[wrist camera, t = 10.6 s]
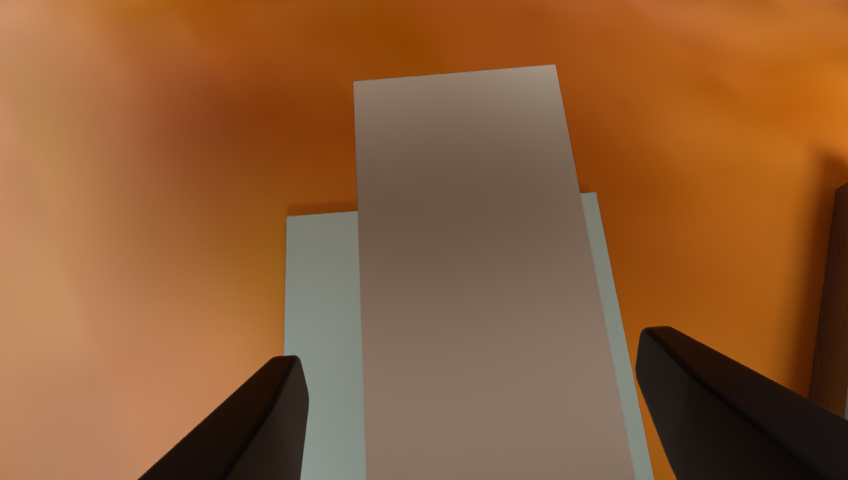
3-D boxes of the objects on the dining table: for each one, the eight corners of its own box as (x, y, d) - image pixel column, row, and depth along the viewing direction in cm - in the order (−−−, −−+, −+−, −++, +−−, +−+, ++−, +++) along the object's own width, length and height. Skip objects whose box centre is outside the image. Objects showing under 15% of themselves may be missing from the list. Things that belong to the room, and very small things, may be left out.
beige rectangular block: (519, 485, 14) (666, 633, 5) (417, 493, 14) (372, 655, 5) (490, 258, 17) (555, 64, 7) (403, 265, 17) (353, 81, 7)
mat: (662, 544, 14) (667, 548, 14) (283, 572, 14) (279, 576, 14) (592, 196, 18) (595, 192, 17) (290, 220, 18) (286, 216, 17)
